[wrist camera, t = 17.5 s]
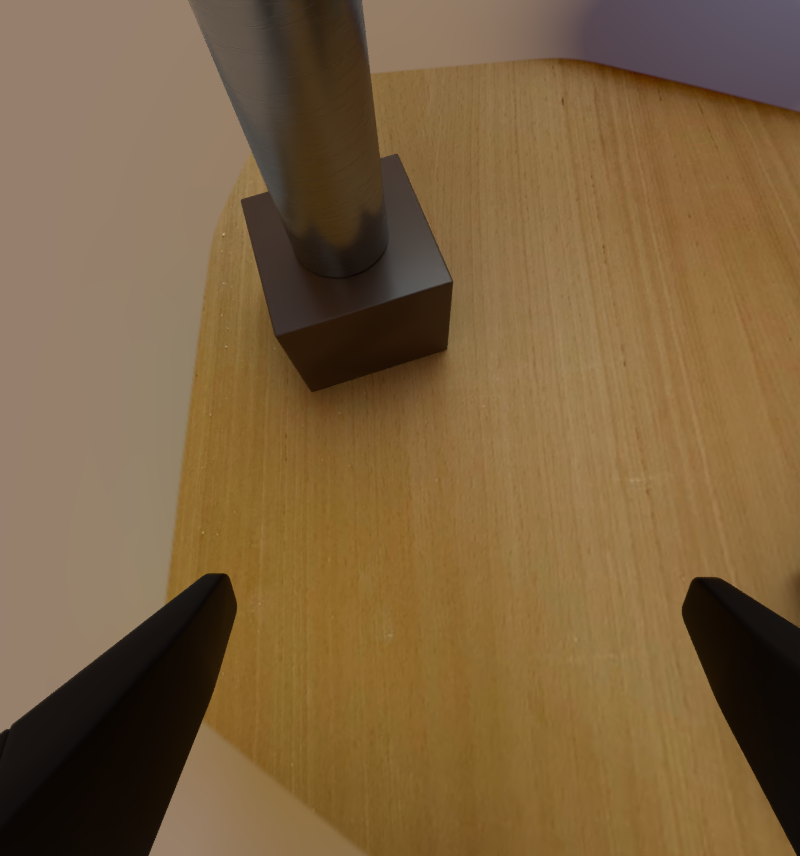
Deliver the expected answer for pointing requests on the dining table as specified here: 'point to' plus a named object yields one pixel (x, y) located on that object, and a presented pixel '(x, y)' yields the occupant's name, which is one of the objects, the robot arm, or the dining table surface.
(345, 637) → the dining table surface
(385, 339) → the riser
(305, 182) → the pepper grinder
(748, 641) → the robot arm
